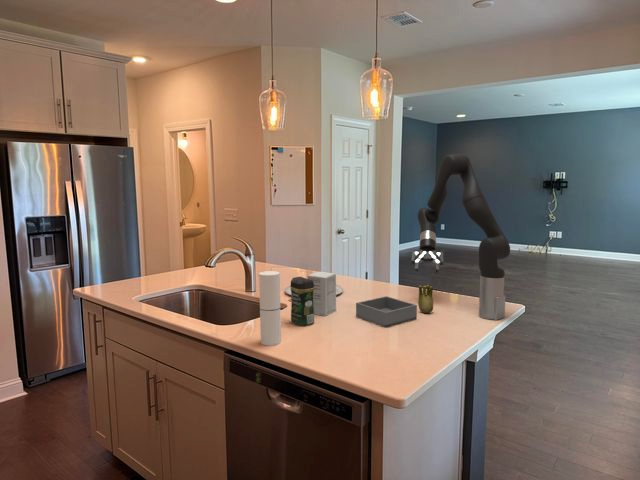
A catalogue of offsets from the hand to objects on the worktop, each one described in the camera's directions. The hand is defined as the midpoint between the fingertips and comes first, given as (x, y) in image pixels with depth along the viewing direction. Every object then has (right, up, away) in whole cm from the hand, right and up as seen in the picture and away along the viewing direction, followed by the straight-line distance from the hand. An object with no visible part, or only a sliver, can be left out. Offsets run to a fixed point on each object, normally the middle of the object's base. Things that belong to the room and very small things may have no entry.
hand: (427, 271), depth 201 cm
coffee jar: (-55, -19, -21) cm, 63 cm away
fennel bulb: (-3, -17, -9) cm, 20 cm away
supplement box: (-47, -17, -7) cm, 51 cm away
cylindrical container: (-66, -22, -43) cm, 82 cm away
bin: (-21, -18, -16) cm, 32 cm away
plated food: (-51, -13, +27) cm, 60 cm away
